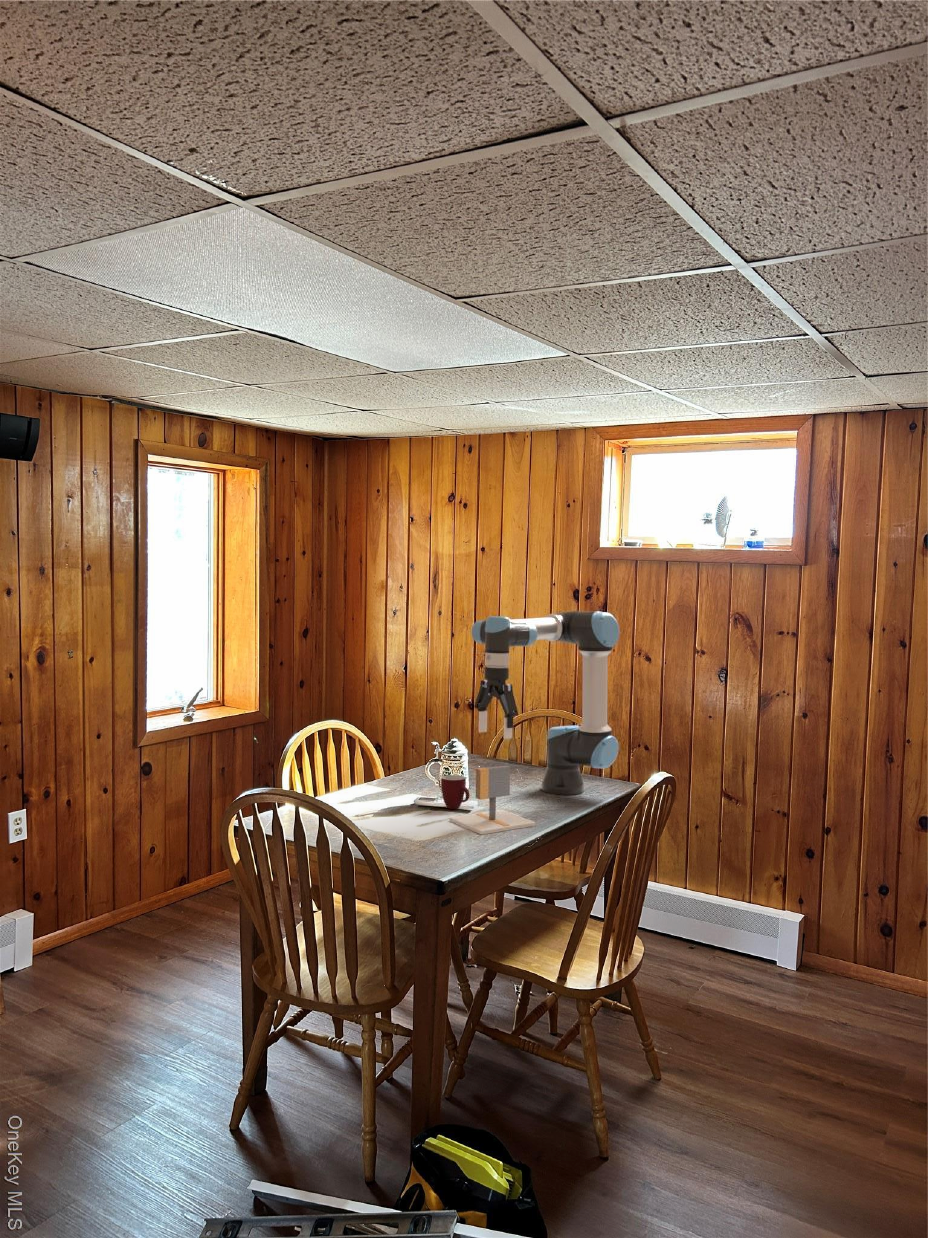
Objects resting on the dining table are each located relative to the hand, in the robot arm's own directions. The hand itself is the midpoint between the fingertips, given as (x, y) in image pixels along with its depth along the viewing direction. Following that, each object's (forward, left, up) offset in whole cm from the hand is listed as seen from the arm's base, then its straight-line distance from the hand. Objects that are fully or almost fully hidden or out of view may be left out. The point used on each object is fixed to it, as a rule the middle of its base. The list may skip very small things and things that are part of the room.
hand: (495, 735), depth 281 cm
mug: (0, -21, -28) cm, 35 cm away
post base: (0, 0, -27) cm, 27 cm away
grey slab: (0, 0, -19) cm, 19 cm away
